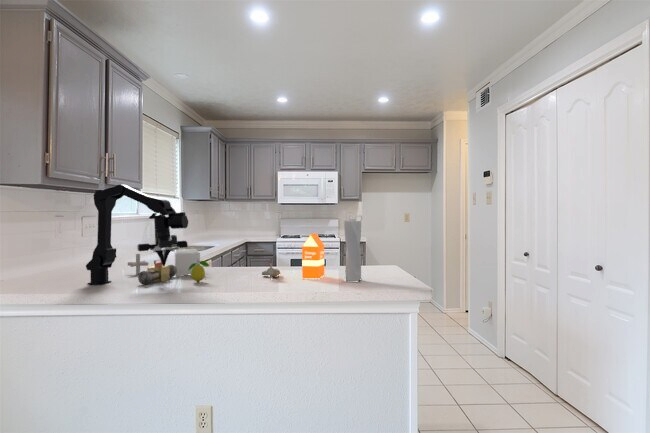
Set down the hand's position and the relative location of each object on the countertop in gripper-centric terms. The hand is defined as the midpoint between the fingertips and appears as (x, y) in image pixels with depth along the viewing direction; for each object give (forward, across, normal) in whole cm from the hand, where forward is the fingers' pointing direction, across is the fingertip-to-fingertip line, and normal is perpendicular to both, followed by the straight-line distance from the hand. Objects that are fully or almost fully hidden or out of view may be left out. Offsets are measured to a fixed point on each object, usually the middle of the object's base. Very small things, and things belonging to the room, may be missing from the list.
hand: (163, 266), depth 150 cm
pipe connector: (+7, -6, +37) cm, 38 cm away
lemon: (+8, +12, -6) cm, 16 cm away
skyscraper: (+10, +67, -43) cm, 81 cm away
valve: (+9, +42, -16) cm, 46 cm away
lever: (0, -2, +4) cm, 4 cm away
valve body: (+7, -1, +9) cm, 12 cm away
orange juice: (+10, +57, -27) cm, 64 cm away
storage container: (+8, +15, +28) cm, 33 cm away
